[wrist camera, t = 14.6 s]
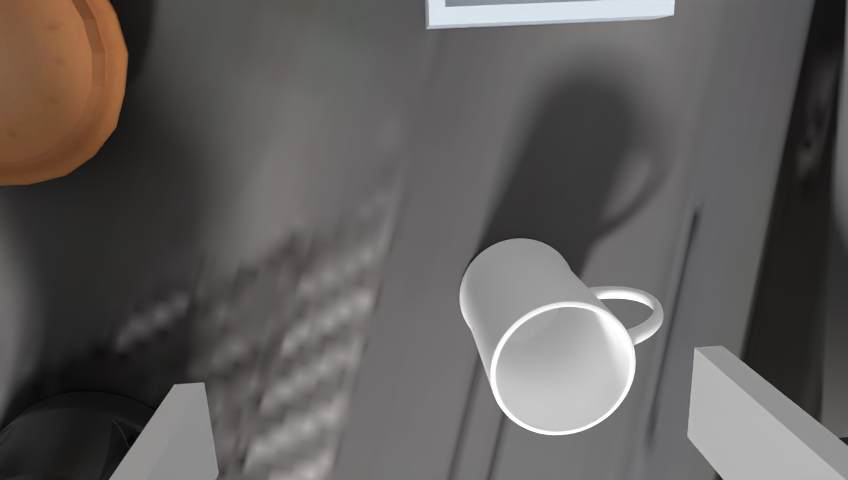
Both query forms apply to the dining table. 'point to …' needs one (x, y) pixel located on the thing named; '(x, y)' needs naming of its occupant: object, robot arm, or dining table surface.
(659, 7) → the tray
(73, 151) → the pie
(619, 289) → the mug
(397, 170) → the dining table surface
